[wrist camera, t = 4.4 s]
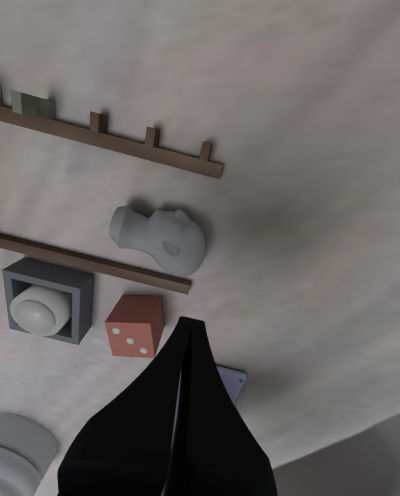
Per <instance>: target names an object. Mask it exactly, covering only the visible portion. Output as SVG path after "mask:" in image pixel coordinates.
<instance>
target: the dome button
mask: <svg viewBox="0 0 400 496" xmlns="http://www.w3.org/2000/svg"><path fill="white" fill-rule="evenodd" d="M10 312H11V315H12V317H13V319H14V320H15V322H16V323H17V324H18V325H19V326H20V327H21V328H23V329H24V330H26V331H27V332H30V333H32V334H34V335H38V336H51V335H54V334H56V333H57V332H58V331H59V330H60V329H61V328H62V327H63V326H64V325H65V323H66V322H67V321H68V320H69V319H70V318H71V317H72V293H69V292H65V291H61V290H57V289H52V288H48V287H44V286H40V285H36V284H33V285H32V286H30V287H29V288H28V289H26V290H25V291H24V292H22V293H21V294H19V295H18V296H17V297H15V298H14V299H13V300H12V302H11V304H10Z"/></svg>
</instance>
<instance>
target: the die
mask: <svg viewBox="0 0 400 496" xmlns="http://www.w3.org/2000/svg"><path fill="white" fill-rule="evenodd" d="M105 325H106V329H107V333H108V338H109V342H110V346H111V350H112V355H113V356H128V357H149V358H155V355H156V352H157V349H158V346H159V342H160V339H161V336H162V332H163V329H164V321H163V311H162V302H161V296H141V295H122V296H121V298H120V300H119V301H118V303H117V304H116V306H115V307H114V309H113V310H112V312H111V313H110V315H109V316H108V318H107V320H106V321H105Z"/></svg>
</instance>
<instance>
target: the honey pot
mask: <svg viewBox="0 0 400 496" xmlns="http://www.w3.org/2000/svg"><path fill="white" fill-rule="evenodd" d="M57 449H58V446H57V442H56V440H55V439H54V437H53V436H52V435H51V433H49V432H48V431H47V430H46V429H45V428H44V427H42V426H40V425H39V424H37V423H35V422H33V421H31V420H29V419H26V418H24V417H21V416H17V415H14V414H7V413H0V496H34V494H35V493H36V490H37V487H38V486H39V485H40V481H41V480H42V479H43V478H44V476H45V474H46V472H47V470H48V468H49V466H50V464H51V462H52V461H53V459H54V457H55V455H56V453H57Z"/></svg>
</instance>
